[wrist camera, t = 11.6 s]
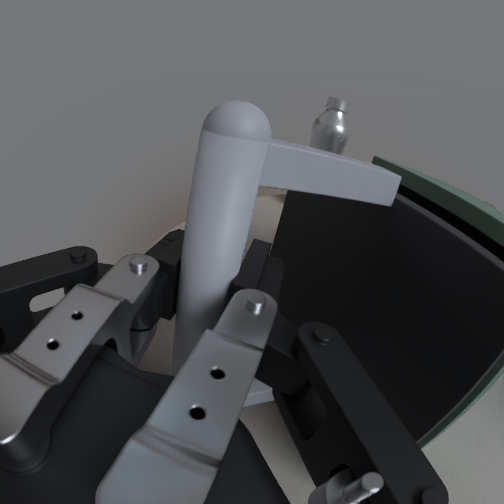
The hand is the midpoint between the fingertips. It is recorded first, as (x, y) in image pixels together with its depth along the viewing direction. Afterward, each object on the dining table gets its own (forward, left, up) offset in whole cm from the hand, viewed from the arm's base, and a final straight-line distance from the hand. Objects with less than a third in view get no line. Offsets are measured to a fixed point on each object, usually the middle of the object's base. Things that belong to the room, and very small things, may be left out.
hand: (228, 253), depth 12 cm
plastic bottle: (+25, +30, -9) cm, 41 cm away
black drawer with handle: (+9, -3, -9) cm, 13 cm away
